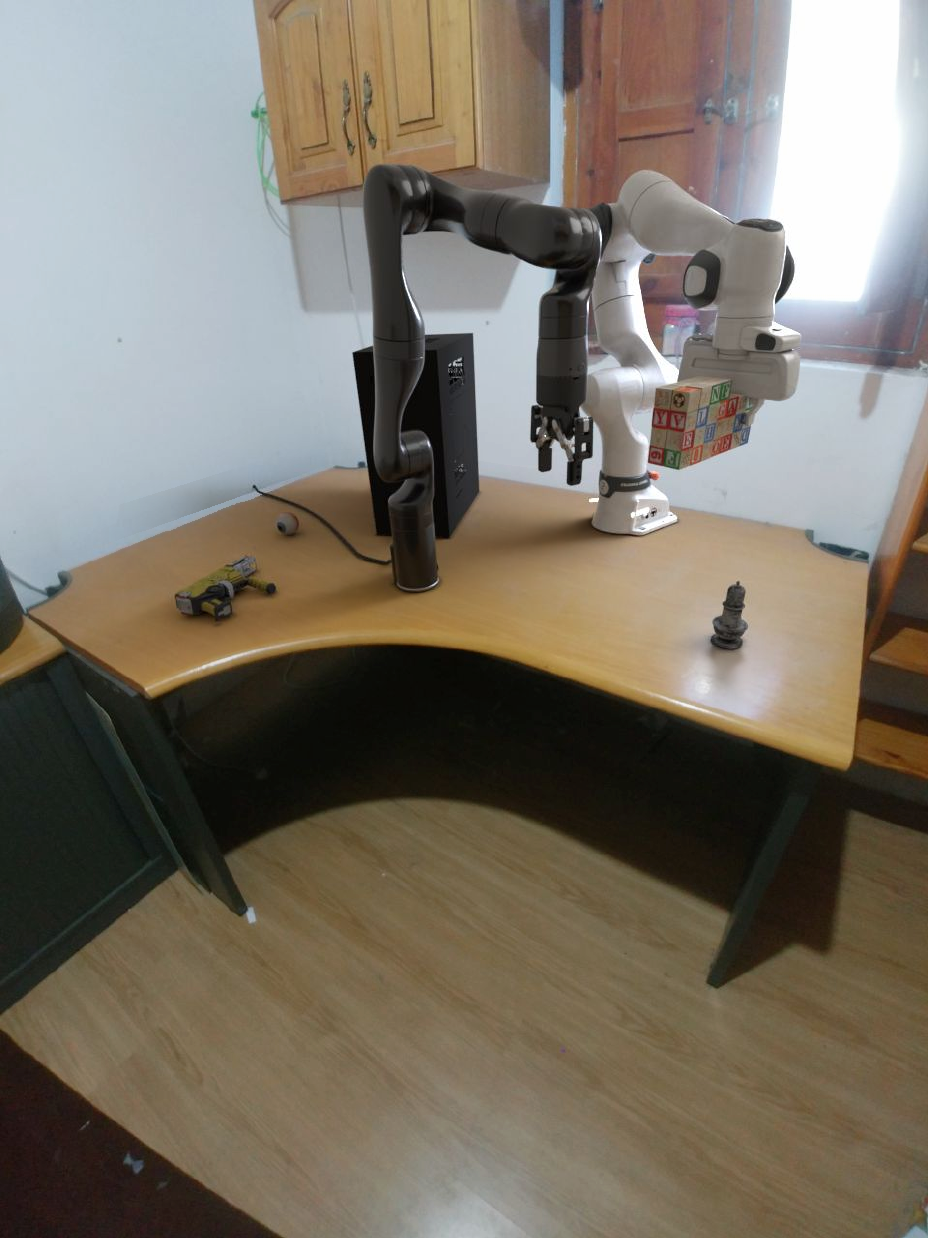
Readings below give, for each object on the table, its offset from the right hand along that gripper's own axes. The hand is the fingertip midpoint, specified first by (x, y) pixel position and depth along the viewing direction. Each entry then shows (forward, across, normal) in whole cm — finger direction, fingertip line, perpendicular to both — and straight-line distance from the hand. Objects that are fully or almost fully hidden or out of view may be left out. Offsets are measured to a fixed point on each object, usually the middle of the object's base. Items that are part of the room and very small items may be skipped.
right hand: (726, 421), depth 107 cm
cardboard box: (+35, -80, -9) cm, 88 cm away
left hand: (+4, -9, -34) cm, 35 cm away
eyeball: (+35, -95, -47) cm, 112 cm away
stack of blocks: (+4, 0, -7) cm, 9 cm away
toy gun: (+35, -68, -71) cm, 105 cm away
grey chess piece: (+34, +14, -13) cm, 39 cm away
